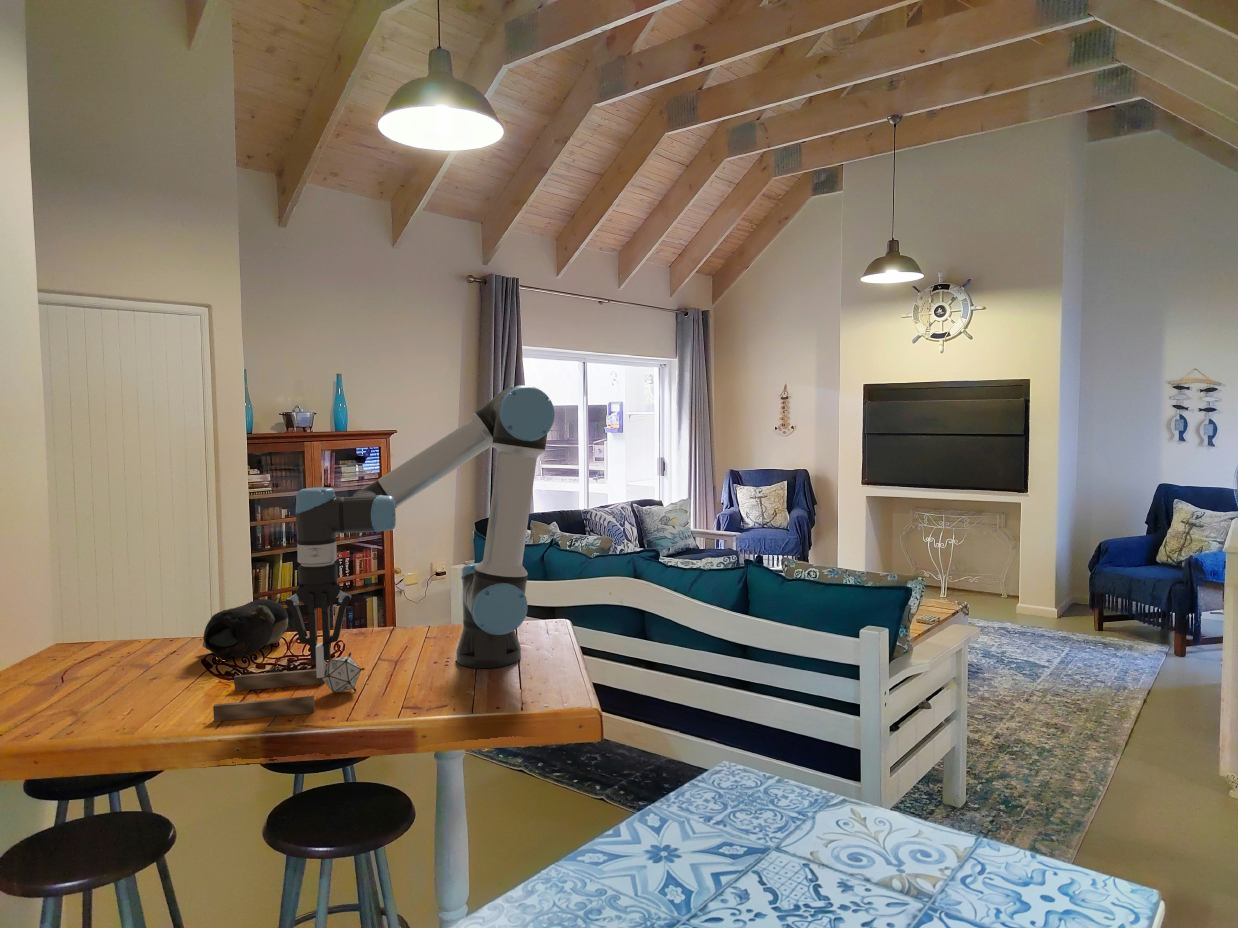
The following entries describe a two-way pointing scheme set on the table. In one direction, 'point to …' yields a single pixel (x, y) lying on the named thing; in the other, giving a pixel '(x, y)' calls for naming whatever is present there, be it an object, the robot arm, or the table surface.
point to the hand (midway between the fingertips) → (321, 675)
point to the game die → (341, 674)
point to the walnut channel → (274, 705)
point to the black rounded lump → (245, 628)
